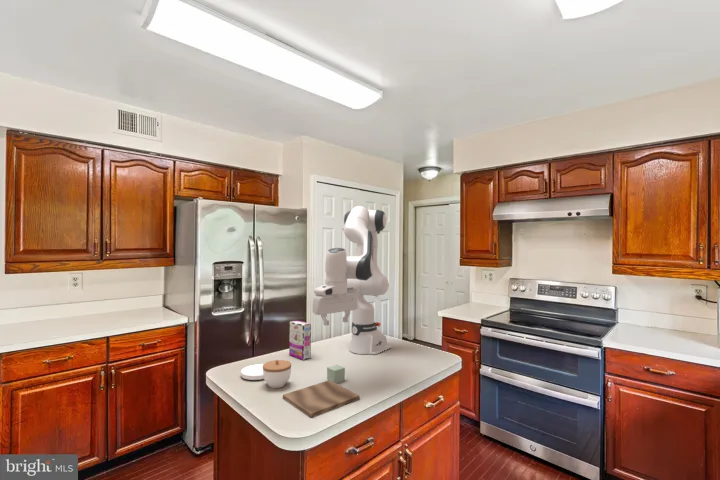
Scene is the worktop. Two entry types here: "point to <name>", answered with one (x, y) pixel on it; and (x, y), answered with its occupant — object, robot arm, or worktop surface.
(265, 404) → the worktop surface
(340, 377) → the sage cube
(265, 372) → the lidded jar
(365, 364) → the worktop surface
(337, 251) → the robot arm
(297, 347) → the candy bar box
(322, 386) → the cutting board
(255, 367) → the white gear
